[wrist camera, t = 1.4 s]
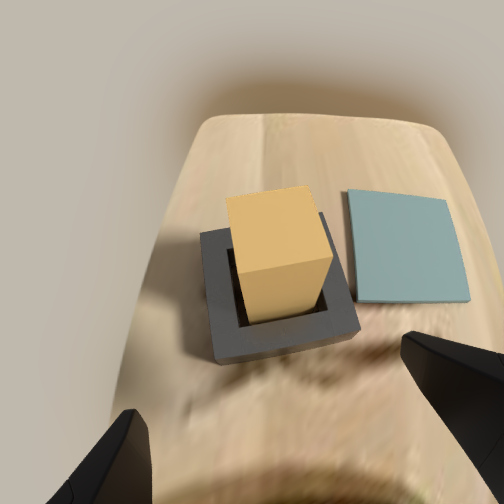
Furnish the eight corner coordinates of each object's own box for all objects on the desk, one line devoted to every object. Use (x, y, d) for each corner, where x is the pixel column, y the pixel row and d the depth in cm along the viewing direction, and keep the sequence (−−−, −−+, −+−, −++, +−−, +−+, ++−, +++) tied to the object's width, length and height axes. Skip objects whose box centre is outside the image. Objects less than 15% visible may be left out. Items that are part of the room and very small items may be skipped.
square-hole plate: (318, 231, 28) (322, 211, 25) (350, 339, 23) (361, 329, 20) (206, 250, 28) (199, 232, 25) (221, 365, 22) (214, 359, 20)
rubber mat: (443, 203, 29) (445, 200, 28) (467, 302, 23) (470, 300, 23) (347, 192, 30) (348, 189, 30) (356, 302, 24) (358, 299, 24)
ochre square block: (296, 262, 26) (307, 185, 18) (310, 315, 24) (333, 256, 15) (240, 272, 26) (225, 198, 18) (250, 327, 24) (237, 273, 15)
